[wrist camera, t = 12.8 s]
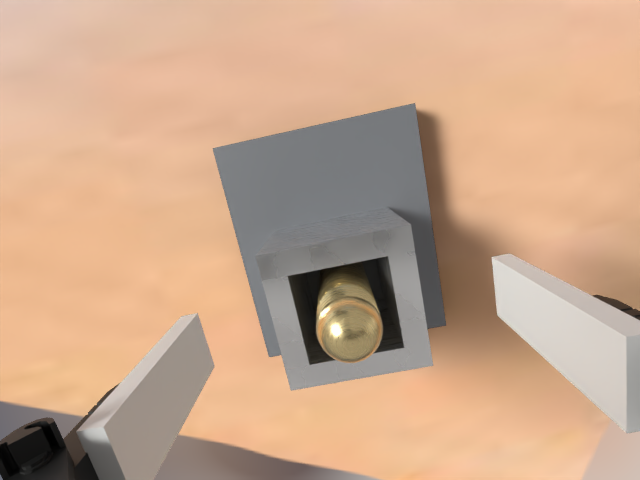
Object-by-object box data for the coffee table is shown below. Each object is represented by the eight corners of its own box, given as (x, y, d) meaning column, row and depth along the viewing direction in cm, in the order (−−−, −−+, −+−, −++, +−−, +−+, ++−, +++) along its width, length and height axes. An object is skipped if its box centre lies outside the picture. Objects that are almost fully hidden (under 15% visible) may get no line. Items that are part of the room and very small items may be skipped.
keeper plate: (220, 149, 21) (212, 148, 20) (408, 107, 21) (414, 103, 19) (272, 345, 24) (269, 357, 23) (438, 315, 24) (446, 325, 22)
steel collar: (275, 230, 21) (255, 256, 15) (387, 206, 20) (410, 224, 15) (300, 331, 22) (290, 390, 17) (404, 311, 22) (433, 365, 16)
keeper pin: (315, 255, 21) (307, 318, 13) (359, 246, 21) (382, 304, 12) (324, 295, 22) (322, 383, 13) (367, 287, 22) (393, 371, 13)
